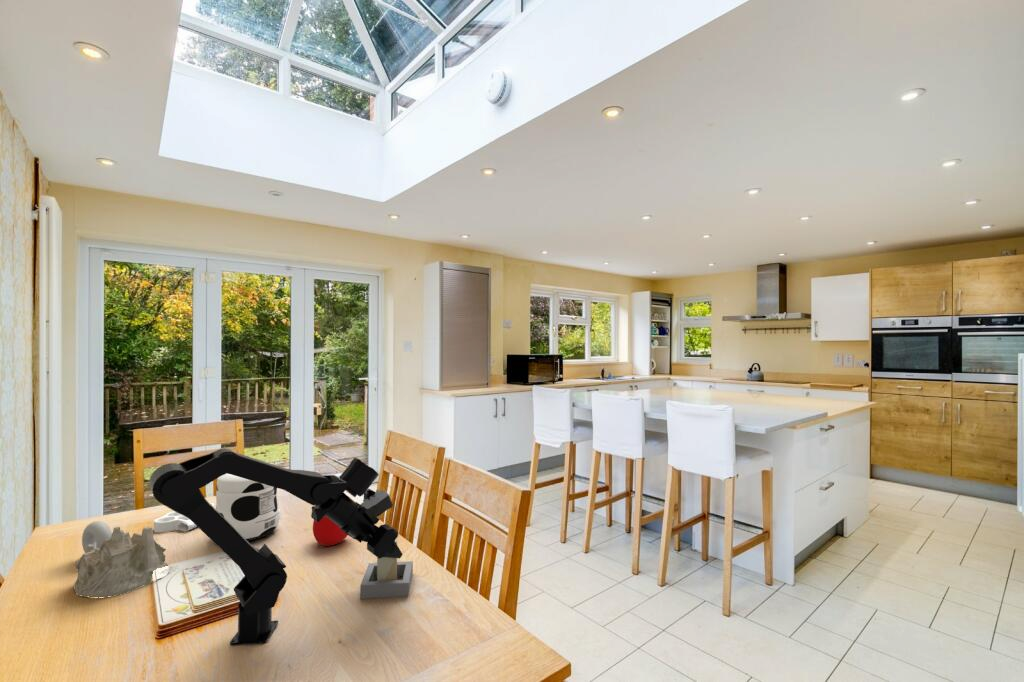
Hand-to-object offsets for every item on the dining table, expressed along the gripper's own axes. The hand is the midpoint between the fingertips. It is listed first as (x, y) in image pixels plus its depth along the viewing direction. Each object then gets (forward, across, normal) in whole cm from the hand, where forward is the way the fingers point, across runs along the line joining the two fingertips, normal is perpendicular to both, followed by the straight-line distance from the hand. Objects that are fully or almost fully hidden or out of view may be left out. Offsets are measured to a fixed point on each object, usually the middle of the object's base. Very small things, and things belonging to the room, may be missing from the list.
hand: (391, 549), depth 110 cm
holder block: (+5, 0, +6) cm, 8 cm away
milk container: (-7, +54, +19) cm, 57 cm away
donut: (-30, +61, +42) cm, 80 cm away
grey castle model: (-27, +44, +39) cm, 64 cm away
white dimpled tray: (-14, +76, +27) cm, 82 cm away
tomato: (+5, +32, +7) cm, 33 cm away
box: (+5, 0, +7) cm, 8 cm away
